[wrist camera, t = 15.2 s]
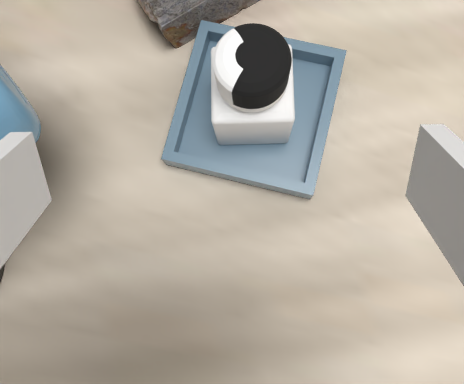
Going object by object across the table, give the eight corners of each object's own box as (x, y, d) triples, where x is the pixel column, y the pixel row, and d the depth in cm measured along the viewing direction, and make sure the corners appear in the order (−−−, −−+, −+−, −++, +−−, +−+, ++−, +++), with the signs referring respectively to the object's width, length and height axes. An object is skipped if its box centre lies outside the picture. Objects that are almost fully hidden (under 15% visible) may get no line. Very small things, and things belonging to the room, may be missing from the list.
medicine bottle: (285, 77, 44) (298, 9, 32) (288, 144, 42) (302, 99, 31) (217, 79, 44) (204, 13, 32) (217, 146, 43) (204, 102, 31)
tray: (166, 164, 43) (161, 158, 41) (203, 32, 46) (201, 19, 43) (309, 199, 42) (313, 195, 40) (341, 62, 44) (346, 50, 42)
